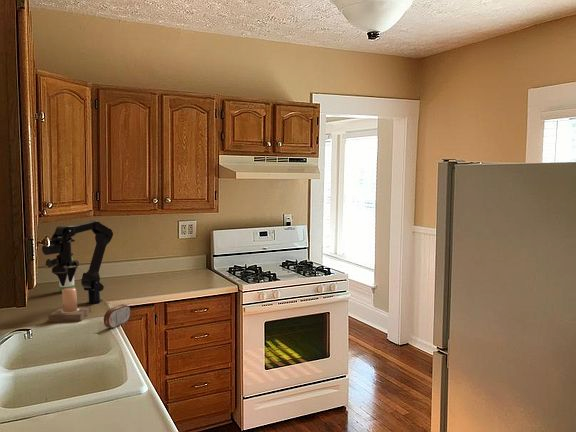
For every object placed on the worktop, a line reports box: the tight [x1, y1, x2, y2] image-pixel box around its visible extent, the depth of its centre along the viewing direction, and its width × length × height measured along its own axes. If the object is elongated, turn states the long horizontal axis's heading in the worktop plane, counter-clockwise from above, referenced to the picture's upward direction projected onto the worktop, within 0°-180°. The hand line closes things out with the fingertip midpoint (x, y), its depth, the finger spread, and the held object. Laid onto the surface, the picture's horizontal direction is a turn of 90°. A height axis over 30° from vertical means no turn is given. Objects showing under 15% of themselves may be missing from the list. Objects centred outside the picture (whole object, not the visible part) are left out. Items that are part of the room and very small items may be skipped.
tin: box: [103, 304, 132, 329], centre depth 219 cm, size 15×3×8 cm, turn 159°
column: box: [61, 287, 78, 312], centre depth 232 cm, size 6×6×10 cm
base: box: [47, 305, 92, 323], centre depth 232 cm, size 14×14×3 cm
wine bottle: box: [58, 256, 76, 293], centre depth 284 cm, size 8×8×30 cm
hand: (66, 283), depth 244 cm, fingers open, 9 cm apart
